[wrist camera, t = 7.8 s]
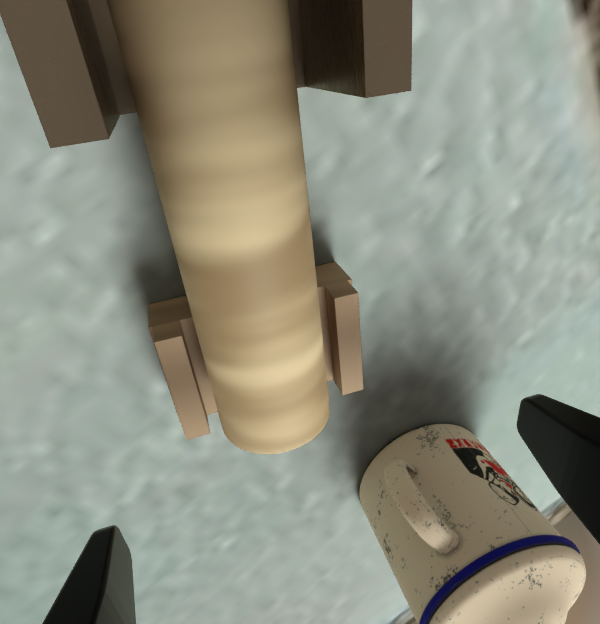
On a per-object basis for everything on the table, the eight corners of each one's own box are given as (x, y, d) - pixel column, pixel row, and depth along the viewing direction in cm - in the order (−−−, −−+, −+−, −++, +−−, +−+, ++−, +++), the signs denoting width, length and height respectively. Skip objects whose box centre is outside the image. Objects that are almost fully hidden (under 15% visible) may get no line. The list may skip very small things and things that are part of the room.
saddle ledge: (342, 350, 24) (367, 388, 21) (177, 394, 22) (181, 441, 19) (335, 261, 21) (362, 291, 18) (148, 304, 19) (148, 343, 17)
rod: (316, 368, 21) (342, 438, 17) (219, 389, 20) (224, 466, 17) (262, -93, 13) (290, -154, 9) (98, -77, 12) (55, -134, 8)
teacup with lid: (499, 459, 32) (653, 636, 22) (397, 536, 33) (503, 738, 23) (420, 366, 26) (589, 556, 16) (298, 465, 27) (385, 702, 17)
